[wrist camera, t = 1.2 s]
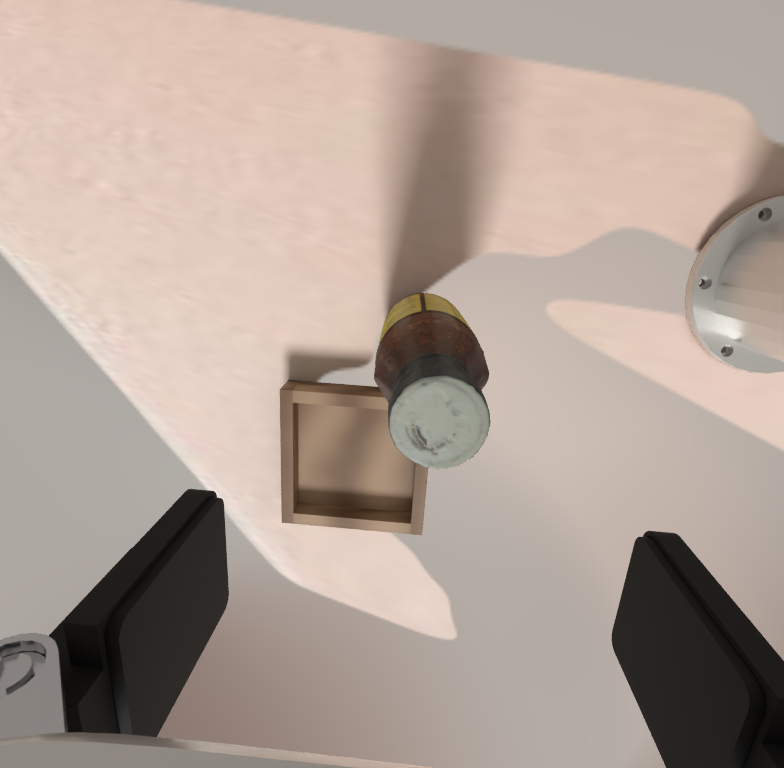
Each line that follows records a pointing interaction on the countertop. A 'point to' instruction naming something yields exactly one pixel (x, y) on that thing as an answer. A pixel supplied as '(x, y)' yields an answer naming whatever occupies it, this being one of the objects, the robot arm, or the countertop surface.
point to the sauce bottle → (432, 382)
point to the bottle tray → (345, 461)
